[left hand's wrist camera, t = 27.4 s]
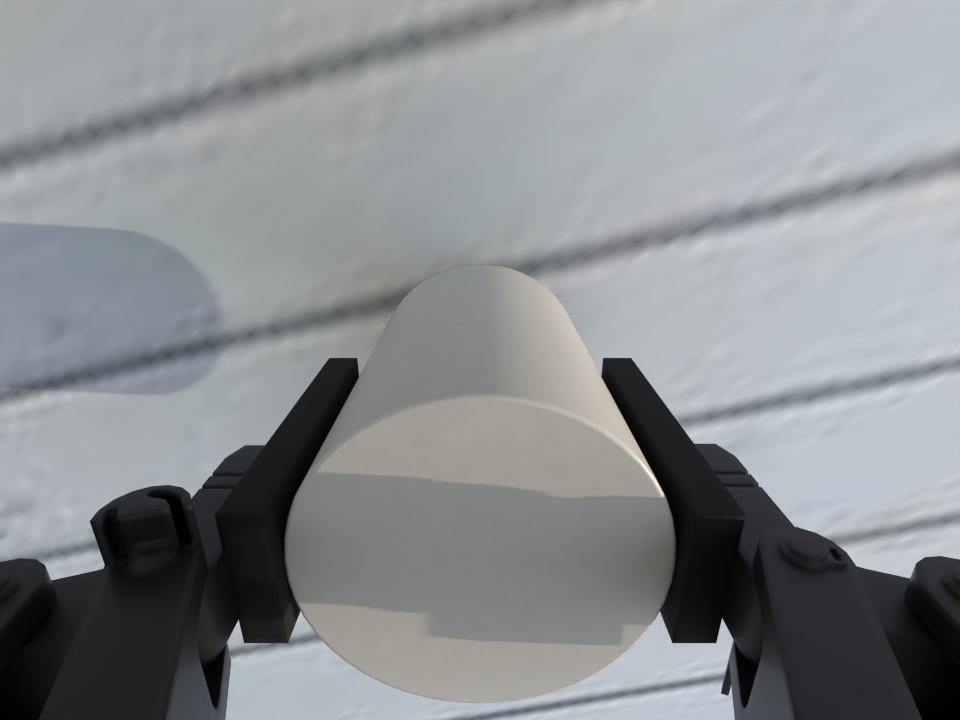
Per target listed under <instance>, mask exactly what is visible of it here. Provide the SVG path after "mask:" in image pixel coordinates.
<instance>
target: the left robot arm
mask: <svg viewBox="0 0 960 720" xmlns="http://www.w3.org/2000/svg"><path fill="white" fill-rule="evenodd" d="M601 377H602V379H603V381H604V383H605V385H606V387H607V389H608V390H609V392H610V394H611V396H612V398H613V400H614V402H615V403H616V405H617V407H618V409H619V411H620V413H621V415H622V416H623V418H624V420H625V422H626V424H627V426H628V428H629V429H630V431H631V433H632V435H633V437H634V439H635V441H636V442H637V444H638V446H639V448H640V450H641V452H642V454H643V456H644V457H645V459H646V461H647V463H648V465H649V467H650V469H651V470H652V472H653V474H654V476H655V478H656V480H657V482H658V483H659V485H660V487H661V489H662V491H663V493H664V495H665V497H666V499H667V502H668V505H669V508H670V511H671V514H672V517H673V522H674V528H675V535H676V562H675V568H674V573H673V579H672V583H671V586H670V588H669V591H668V594H667V597H666V600H665V602H664V604H663V605H662V607H661V609H660V612H661V615H662V617H663V620H664V622H665V625H666V628H667V630H668V633H669V635H670V638H671V640H672V643H716V641H717V637H718V633H719V629H720V624H721V620H722V618H723V620H724V622H725V624H726V626H727V628H728V630H729V632H730V634H731V635H732V637H733V639H734V640H733V644H732V648H731V652H730V656H729V660H728V664H727V668H726V672H725V676H724V680H723V685H722V691H721V694H724V695H729V691H730V687H731V685H732V695H733V705H734V715H735V720H960V560H959V559H953V558H948V557H942V556H937V557H925V558H923V559H922V560H920V561H919V562H917V563H916V566H915V568H914V571H913V573H912V576H911V578H905V577H900V576H896V575H891V574H887V573H882V572H877V571H873V570H868V569H864V568H860V567H857V566H856V565H855V564H854V562H853V561H852V559H851V558H850V557H849V555H848V554H847V553H846V552H845V551H844V550H843V549H841V548H840V547H839V546H838V545H836V544H835V543H834V542H832V541H831V540H829V539H827V538H825V537H823V536H821V535H819V534H817V533H814V532H811V531H808V530H804V529H801V528H798V527H794V526H793V524H792V523H791V522H790V521H789V520H788V518H787V517H786V516H785V515H784V514H783V512H782V511H781V510H780V509H779V508H778V507H777V505H776V504H775V503H774V502H773V501H772V499H771V498H770V497H769V496H768V495H767V493H766V492H765V491H764V490H763V489H762V488H761V487H759V486H758V483H757V482H756V480H755V479H754V478H753V477H752V476H751V474H748V471H747V470H746V468H745V467H744V466H743V465H742V464H741V463H740V461H739V460H738V459H737V458H736V457H735V456H734V455H732V454H731V453H729V452H727V451H726V450H724V449H723V448H721V447H720V446H718V445H716V444H694V443H693V442H692V440H691V439H690V438H689V436H688V435H687V434H686V432H685V431H684V430H683V428H682V427H681V426H680V424H679V423H678V421H677V420H676V419H675V417H674V416H673V415H672V413H671V412H670V411H669V409H668V408H667V406H666V405H665V404H664V402H663V401H662V400H661V398H660V397H659V396H658V394H657V393H656V391H655V390H654V389H653V387H652V386H651V385H650V383H649V382H648V381H647V379H646V378H645V376H644V375H643V374H642V372H641V371H640V370H639V368H638V367H637V366H636V364H635V363H634V361H633V360H632V359H631V358H603V366H602V376H601ZM358 378H359V372H358V361H357V358H329V359H328V361H327V362H326V363H325V365H324V366H323V368H322V369H321V370H320V372H319V373H318V374H317V376H316V377H315V378H314V380H313V381H312V383H311V384H310V385H309V387H308V388H307V389H306V391H305V392H304V393H303V395H302V396H301V397H300V399H299V400H298V402H297V403H296V404H295V406H294V407H293V408H292V410H291V411H290V412H289V414H288V415H287V417H286V418H285V419H284V421H283V422H282V423H281V425H280V426H279V427H278V429H277V430H276V432H275V433H274V434H273V436H272V437H271V438H270V440H269V441H268V442H267V444H266V445H245V446H244V447H242V448H241V449H239V450H237V451H236V452H234V453H233V454H231V455H230V456H228V457H226V458H225V459H224V460H223V462H222V463H221V464H220V465H219V466H218V468H217V469H216V470H215V471H214V472H213V476H210V477H209V478H208V480H207V481H206V482H205V483H204V484H203V486H202V489H199V490H198V492H197V493H196V494H195V495H194V496H193V498H192V499H191V497H190V493H188V492H187V491H186V490H184V489H183V488H182V487H176V486H170V485H164V486H152V487H148V488H144V489H140V490H136V491H132V492H130V493H128V494H126V495H123V496H121V497H119V498H117V499H114V500H113V501H111V502H110V503H109V504H107V505H106V506H104V507H103V508H101V509H100V510H99V511H98V512H97V513H96V514H95V515H94V517H93V518H92V519H91V520H90V523H91V526H92V529H93V532H94V535H95V538H96V541H97V543H98V546H99V549H100V552H101V555H102V558H103V561H104V564H105V566H104V569H101V570H97V571H93V572H88V573H84V574H79V575H75V576H70V577H66V578H61V579H56V580H52V581H51V579H50V577H49V574H48V572H47V569H46V567H45V565H44V564H42V563H41V562H39V561H38V560H36V559H23V558H20V559H15V560H9V561H3V562H0V720H225V716H226V706H227V697H228V687H229V677H230V667H231V659H230V653H229V648H228V644H227V641H228V639H229V637H230V635H231V633H232V631H233V629H234V627H235V625H236V623H237V622H238V620H239V623H240V627H241V631H242V635H243V640H244V643H288V641H289V639H290V636H291V634H292V631H293V629H294V626H295V623H296V621H297V618H298V616H299V613H300V611H301V610H300V608H299V606H298V604H297V603H296V601H295V598H294V596H293V593H292V590H291V587H290V584H289V581H288V576H287V571H286V565H285V558H284V537H285V530H286V524H287V518H288V515H289V512H290V509H291V506H292V503H293V500H294V497H295V495H296V493H297V491H298V490H299V488H300V486H301V484H302V482H303V480H304V478H305V476H306V475H307V473H308V471H309V469H310V467H311V465H312V464H313V462H314V460H315V458H316V456H317V454H318V452H319V451H320V449H321V447H322V445H323V443H324V441H325V439H326V438H327V436H328V434H329V432H330V430H331V428H332V427H333V425H334V423H335V421H336V419H337V417H338V415H339V414H340V412H341V410H342V408H343V406H344V404H345V402H346V401H347V399H348V397H349V395H350V393H351V391H352V390H353V388H354V386H355V384H356V382H357V380H358Z"/></svg>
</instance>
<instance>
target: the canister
mask: <svg viewBox="0 0 960 720" xmlns="http://www.w3.org/2000/svg"><path fill="white" fill-rule="evenodd" d="M284 558H285V565H286V571H287V576H288V581H289V584H290V587H291V590H292V593H293V596H294V598H295V601H296V603H297V604H298V606H299V608H300V610H301V612H302V614H303V616H304V618H305V619H306V620H307V622H308V623H309V624H310V626H311V627H312V629H313V630H314V631H315V633H316V634H317V635H318V636H319V637H320V638H321V639H322V640H323V641H324V642H325V643H326V645H327V646H328V647H329V648H330V649H331V650H333V651H334V652H335V653H336V654H338V655H339V656H340V657H341V658H342V659H344V660H345V661H346V662H347V663H349V664H350V665H352V666H354V667H355V668H357V669H358V670H360V671H361V672H363V673H364V674H366V675H368V676H370V677H372V678H374V679H376V680H378V681H380V682H382V683H384V684H387V685H389V686H392V687H395V688H397V689H400V690H402V691H405V692H409V693H412V694H416V695H420V696H423V697H428V698H433V699H439V700H444V701H452V702H463V703H497V702H509V701H517V700H522V699H528V698H533V697H537V696H541V695H545V694H548V693H552V692H555V691H558V690H561V689H563V688H566V687H569V686H571V685H574V684H577V683H579V682H580V681H582V680H584V679H586V678H588V677H590V676H592V675H594V674H596V673H598V672H599V671H601V670H602V669H604V668H606V667H607V666H609V665H610V664H612V663H613V662H615V661H616V660H617V659H618V658H619V657H621V656H622V655H623V654H624V653H626V652H627V651H628V650H629V649H630V648H631V647H632V646H633V645H634V644H635V643H636V642H637V641H638V640H639V639H640V638H641V637H642V636H643V635H644V633H645V632H646V631H647V629H648V628H649V627H650V625H651V624H652V622H653V621H654V620H655V618H656V617H657V615H658V613H659V611H660V609H661V607H662V605H663V604H664V602H665V600H666V597H667V594H668V591H669V588H670V586H671V583H672V579H673V573H674V568H675V562H676V535H675V528H674V522H673V517H672V514H671V511H670V508H669V505H668V502H667V499H666V497H665V495H664V493H663V491H662V489H661V487H660V485H659V483H658V482H657V480H656V478H655V476H654V474H653V472H652V470H651V469H650V467H649V465H648V463H647V461H646V459H645V457H644V456H643V454H642V452H641V450H640V448H639V446H638V444H637V442H636V441H635V439H634V437H633V435H632V433H631V431H630V429H629V428H628V426H627V424H626V422H625V420H624V418H623V416H622V415H621V413H620V411H619V409H618V407H617V405H616V403H615V402H614V400H613V398H612V396H611V394H610V392H609V390H608V389H607V387H606V385H605V383H604V381H603V379H602V377H601V376H600V374H599V372H598V370H597V368H596V366H595V364H594V363H593V361H592V359H591V357H590V355H589V353H588V351H587V350H586V348H585V346H584V344H583V342H582V340H581V338H580V337H579V335H578V333H577V331H576V329H575V327H574V325H573V324H572V322H571V320H570V318H569V316H568V314H567V312H566V311H565V309H564V308H563V306H562V305H561V303H560V302H559V301H558V299H557V298H556V297H555V296H554V295H553V294H552V293H551V292H550V291H549V290H548V289H547V288H545V287H544V286H543V285H542V284H540V283H539V282H538V281H536V280H534V279H532V278H531V277H529V276H527V275H525V274H523V273H520V272H518V271H516V270H513V269H509V268H505V267H502V266H495V265H487V264H473V265H466V266H459V267H455V268H452V269H448V270H445V271H443V272H440V273H438V274H435V275H433V276H432V277H430V278H428V279H426V280H425V281H423V282H422V283H420V284H419V285H418V286H417V287H415V288H414V289H413V290H412V291H411V292H410V293H409V294H408V295H407V296H406V297H405V298H404V299H403V300H402V302H401V303H400V304H399V306H398V307H397V308H396V310H395V312H394V314H393V316H392V317H391V319H390V321H389V323H388V325H387V327H386V329H385V330H384V332H383V334H382V336H381V338H380V340H379V341H378V343H377V345H376V347H375V349H374V351H373V353H372V354H371V356H370V358H369V360H368V362H367V364H366V366H365V367H364V369H363V371H362V373H361V375H360V377H359V378H358V380H357V382H356V384H355V386H354V388H353V390H352V391H351V393H350V395H349V397H348V399H347V401H346V402H345V404H344V406H343V408H342V410H341V412H340V414H339V415H338V417H337V419H336V421H335V423H334V425H333V427H332V428H331V430H330V432H329V434H328V436H327V438H326V439H325V441H324V443H323V445H322V447H321V449H320V451H319V452H318V454H317V456H316V458H315V460H314V462H313V464H312V465H311V467H310V469H309V471H308V473H307V475H306V476H305V478H304V480H303V482H302V484H301V486H300V488H299V490H298V491H297V493H296V495H295V497H294V500H293V503H292V506H291V509H290V512H289V515H288V518H287V524H286V530H285V537H284Z"/></svg>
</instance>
